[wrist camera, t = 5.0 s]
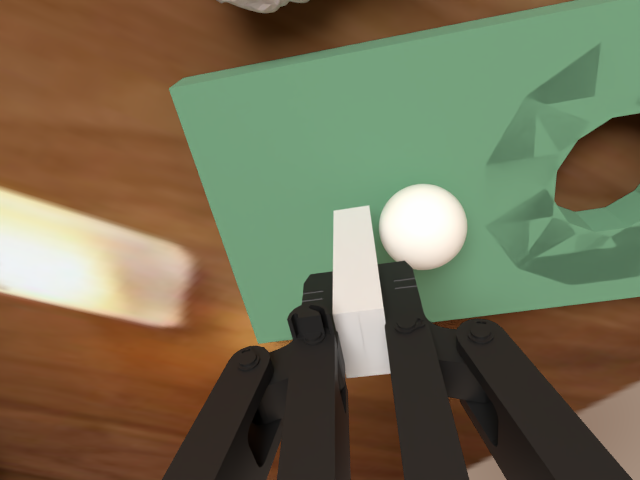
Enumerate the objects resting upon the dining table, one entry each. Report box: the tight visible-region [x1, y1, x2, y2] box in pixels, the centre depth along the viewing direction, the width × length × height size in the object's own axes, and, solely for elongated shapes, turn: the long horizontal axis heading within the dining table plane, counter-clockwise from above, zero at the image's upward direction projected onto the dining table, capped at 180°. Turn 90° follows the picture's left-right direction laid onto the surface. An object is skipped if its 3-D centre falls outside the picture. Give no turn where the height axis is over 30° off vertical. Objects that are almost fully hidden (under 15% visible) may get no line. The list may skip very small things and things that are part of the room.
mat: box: [169, 0, 640, 344], centre depth 20 cm, size 25×14×4 cm, turn 101°
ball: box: [379, 184, 467, 270], centre depth 19 cm, size 4×4×4 cm
